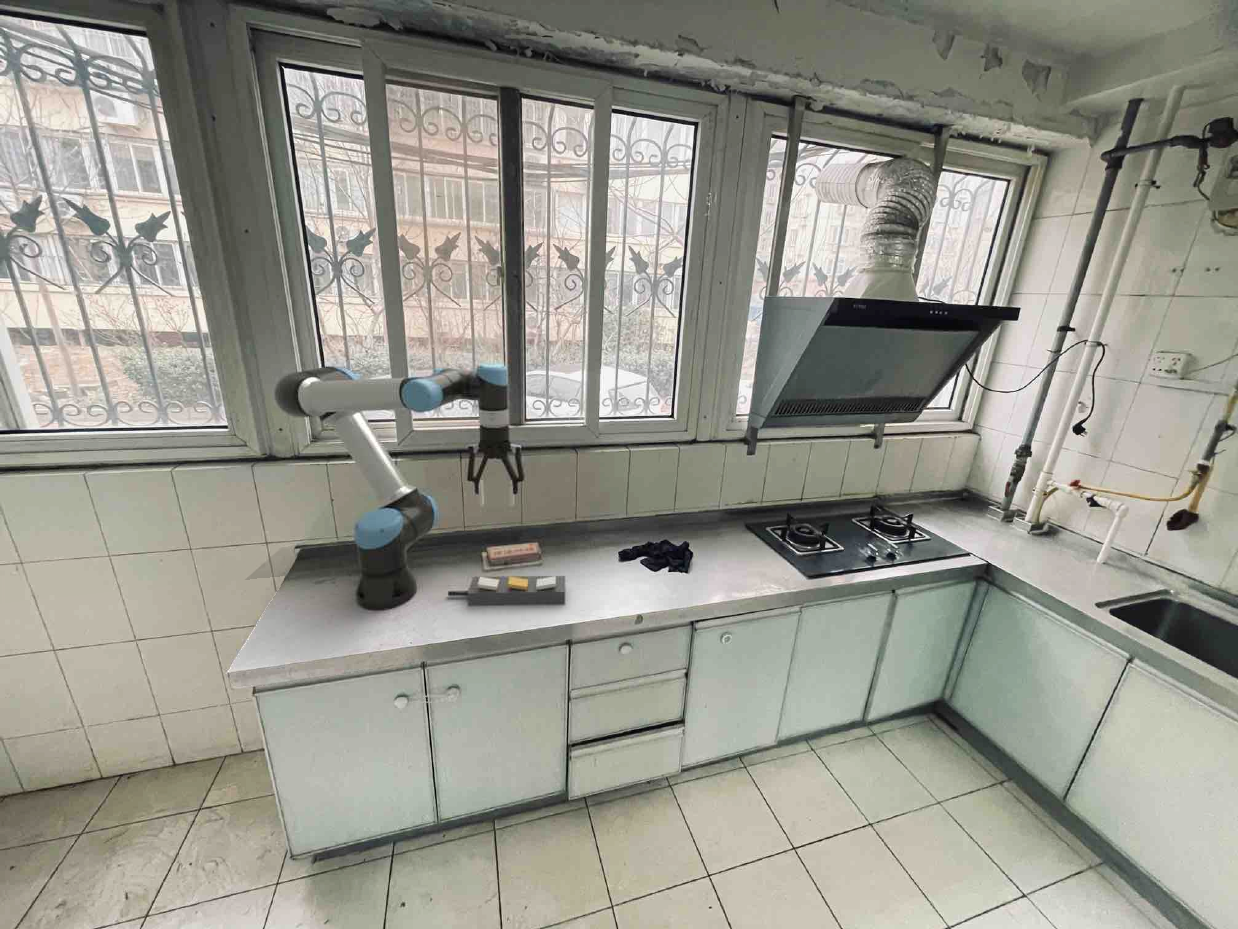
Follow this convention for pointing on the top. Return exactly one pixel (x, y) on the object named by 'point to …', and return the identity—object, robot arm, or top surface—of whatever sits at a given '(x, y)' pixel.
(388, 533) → the robot arm
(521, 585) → the yellow box
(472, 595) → the power strip
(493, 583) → the white box
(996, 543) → the top surface
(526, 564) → the packaged product
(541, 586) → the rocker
